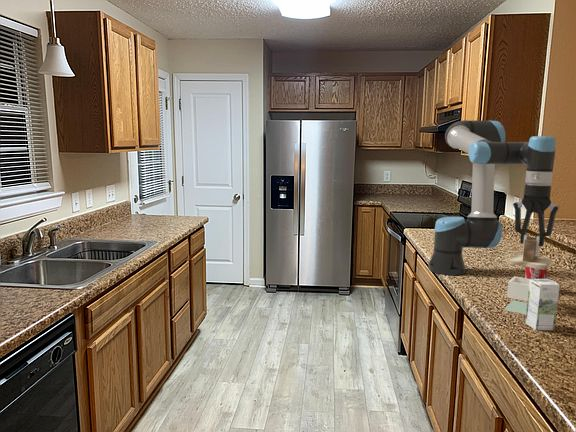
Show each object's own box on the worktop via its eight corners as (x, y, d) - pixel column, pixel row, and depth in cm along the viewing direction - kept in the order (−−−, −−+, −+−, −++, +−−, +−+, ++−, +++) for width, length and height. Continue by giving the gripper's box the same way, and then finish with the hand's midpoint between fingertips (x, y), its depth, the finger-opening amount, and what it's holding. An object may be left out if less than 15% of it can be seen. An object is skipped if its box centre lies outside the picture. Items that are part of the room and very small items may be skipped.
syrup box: (542, 323, 136) (547, 277, 134) (555, 331, 130) (560, 283, 128) (524, 323, 136) (529, 277, 134) (535, 331, 130) (540, 283, 128)
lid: (507, 263, 149) (509, 239, 147) (516, 257, 157) (518, 234, 156) (544, 269, 142) (547, 244, 140) (551, 262, 150) (554, 238, 149)
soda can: (522, 290, 169) (525, 259, 167) (525, 285, 174) (528, 255, 173) (543, 293, 165) (546, 262, 163) (546, 289, 170) (549, 258, 168)
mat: (503, 310, 147) (503, 309, 147) (512, 301, 156) (512, 300, 156) (544, 319, 139) (544, 318, 139) (551, 309, 149) (551, 308, 148)
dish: (506, 297, 160) (508, 281, 159) (513, 291, 166) (514, 276, 166) (534, 303, 154) (536, 287, 153) (540, 297, 161) (541, 281, 160)
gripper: (508, 183, 147) (501, 252, 151) (564, 187, 137) (556, 261, 141) (514, 181, 153) (507, 248, 157) (568, 185, 143) (560, 256, 147)
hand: (530, 254), depth 149 cm, fingers closed on lid, 3 cm apart
